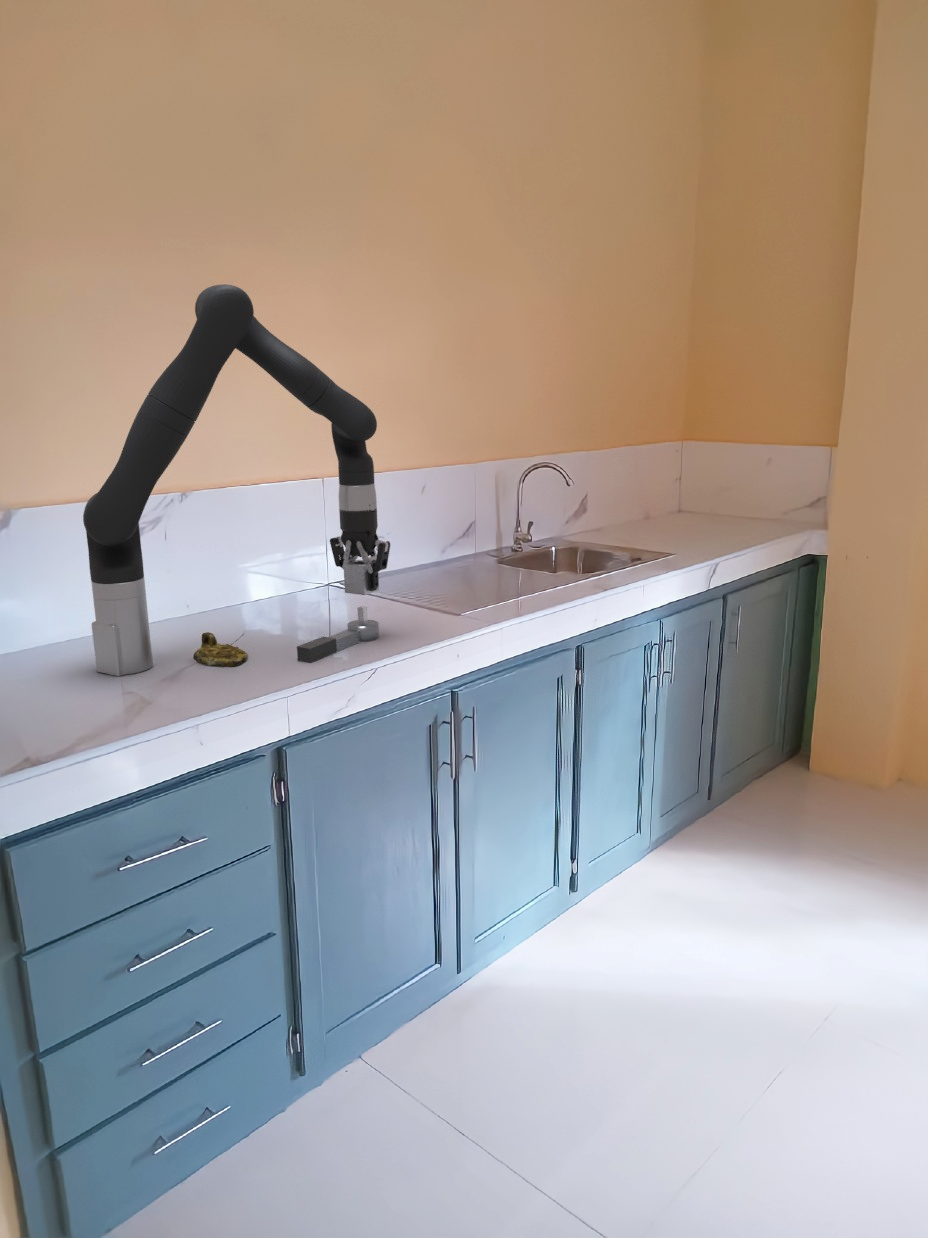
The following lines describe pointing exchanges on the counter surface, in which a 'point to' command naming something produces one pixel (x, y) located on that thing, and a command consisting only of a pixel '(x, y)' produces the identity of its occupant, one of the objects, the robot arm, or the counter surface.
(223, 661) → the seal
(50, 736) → the counter surface
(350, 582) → the hollow square tube
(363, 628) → the ratchet
